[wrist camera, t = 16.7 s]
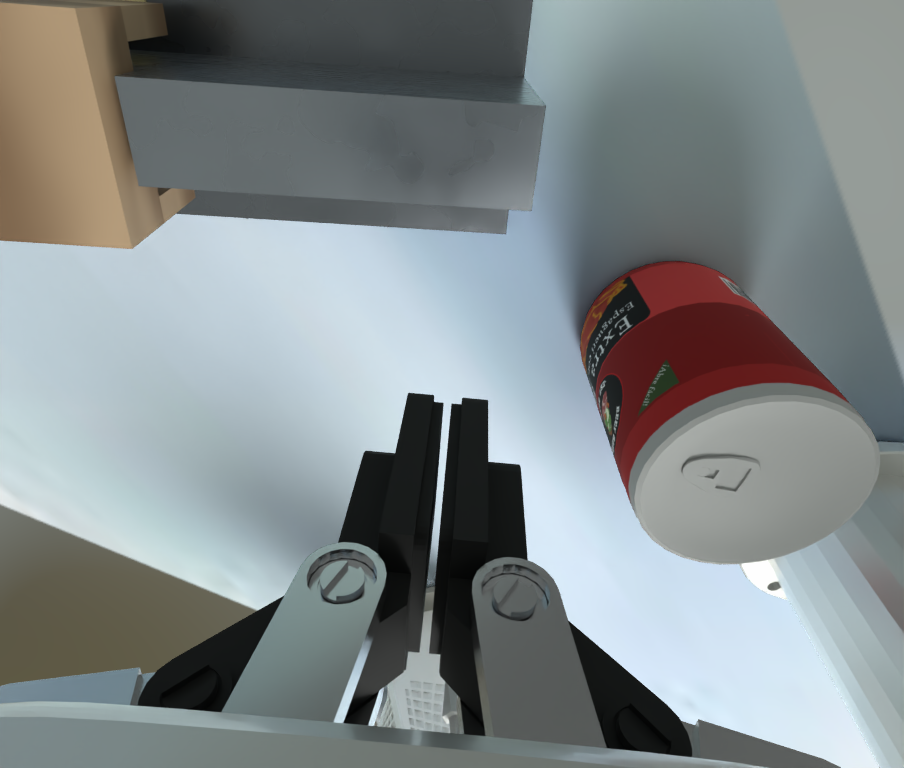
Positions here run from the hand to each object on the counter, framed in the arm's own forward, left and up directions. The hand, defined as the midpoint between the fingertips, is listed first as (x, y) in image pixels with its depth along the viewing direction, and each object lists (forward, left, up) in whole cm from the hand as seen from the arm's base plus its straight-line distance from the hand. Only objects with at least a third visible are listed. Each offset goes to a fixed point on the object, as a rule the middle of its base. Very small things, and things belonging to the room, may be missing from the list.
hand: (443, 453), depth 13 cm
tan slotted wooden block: (+13, -4, -14) cm, 19 cm away
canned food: (-10, +5, -16) cm, 20 cm away
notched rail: (+10, -4, -16) cm, 19 cm away
